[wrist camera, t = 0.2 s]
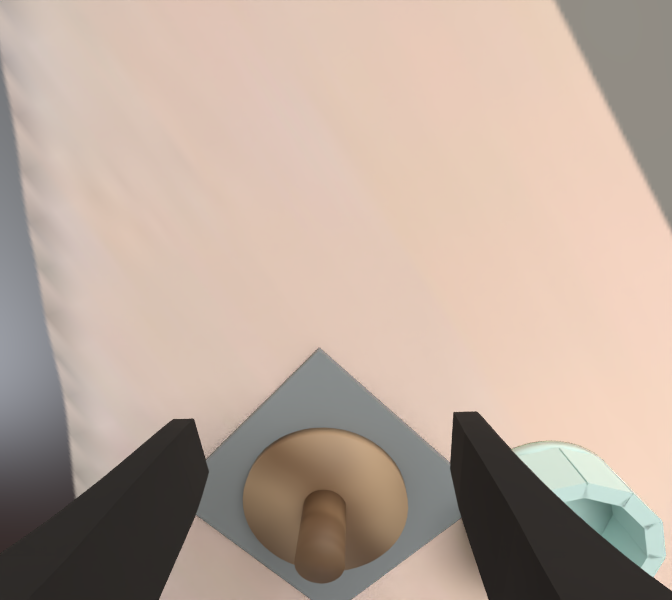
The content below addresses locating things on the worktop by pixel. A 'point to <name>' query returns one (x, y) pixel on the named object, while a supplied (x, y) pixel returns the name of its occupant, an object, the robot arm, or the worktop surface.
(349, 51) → the worktop surface
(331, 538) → the lid
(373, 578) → the mat
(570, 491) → the bowl
